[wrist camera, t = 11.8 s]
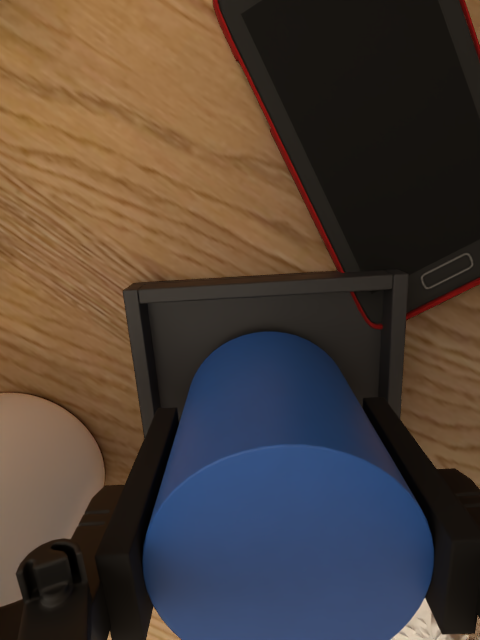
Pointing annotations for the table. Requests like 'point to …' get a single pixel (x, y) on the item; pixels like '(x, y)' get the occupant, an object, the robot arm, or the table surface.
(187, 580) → the blue pillar candle
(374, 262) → the cell phone
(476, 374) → the table surface
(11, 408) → the candle holder
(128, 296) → the tray
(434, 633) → the winged dragon toy
